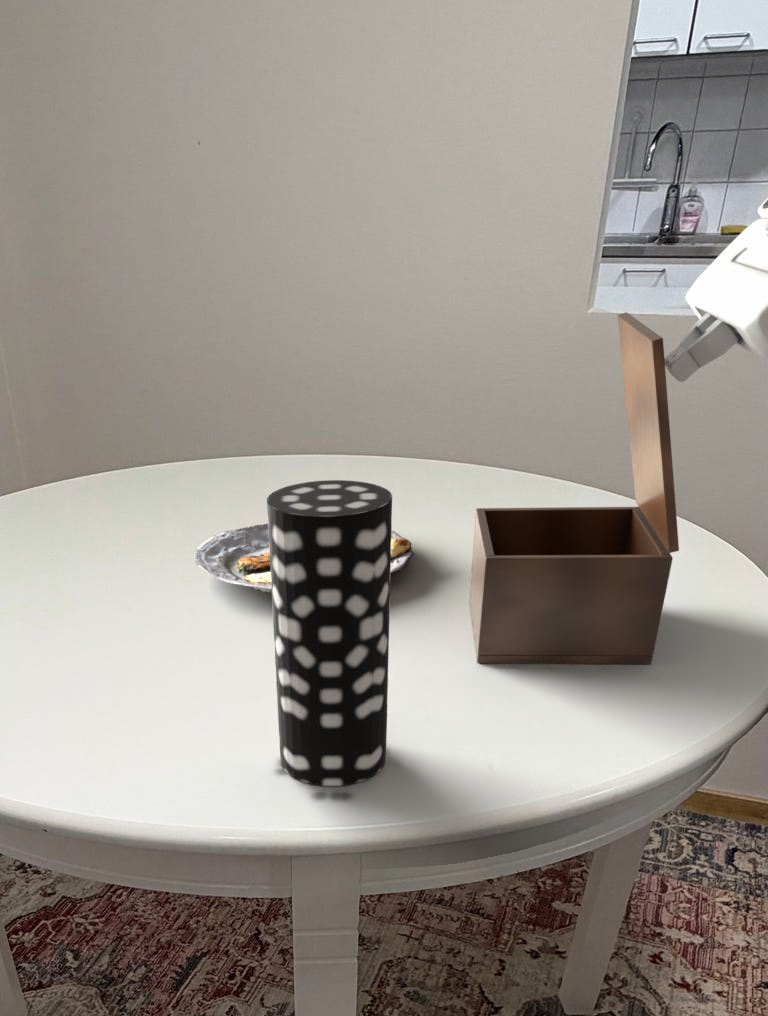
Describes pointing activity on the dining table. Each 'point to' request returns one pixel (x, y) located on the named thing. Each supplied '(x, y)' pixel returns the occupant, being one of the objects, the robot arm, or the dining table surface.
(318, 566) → the white-spotted black cylinder
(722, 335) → the robot arm
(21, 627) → the dining table surface
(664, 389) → the lid
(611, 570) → the chest
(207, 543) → the food plate
